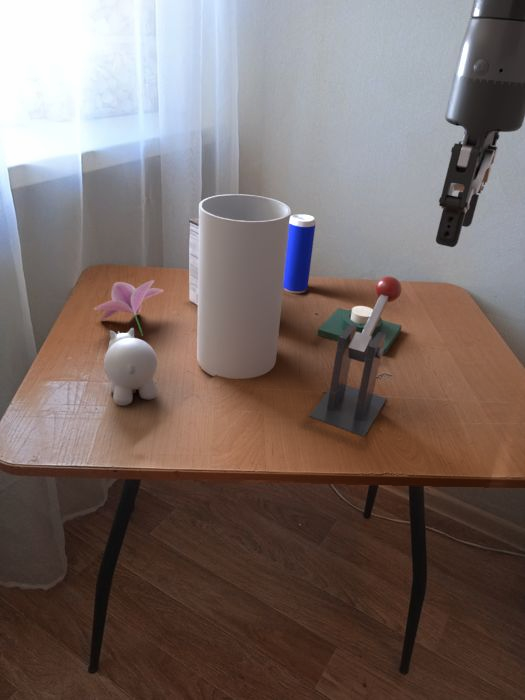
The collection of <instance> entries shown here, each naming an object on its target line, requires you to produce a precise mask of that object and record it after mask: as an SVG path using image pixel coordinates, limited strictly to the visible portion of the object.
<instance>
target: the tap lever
mask: <svg viewBox="0 0 525 700" xmlns="http://www.w3.org/2000/svg"><path fill="white" fill-rule="evenodd" d="M374 290H375V295H376V297H377V298H378V299H377V301H376V303H375V305H374V307H373V308H372V309H373V311H372V313H371V315H370V317H369V319H368V321H367V323H366V325H365V327H364V329H363V331H362V333H359V332H356V333H355V335H354V337H353V339H352V341H351V343H350V345H349V358H351V360H354V361H357V362H359V363H364V364H365V359H366V354H367V349H368V345H369V344H370V343H371V341H372V336H371V335H372V333H373V331H374V329H375V327H376V325H377V323H378V320H379V318H380V317H381V316H382V314H383V312H384V311H385V308H386V306H387V304H388V303H392V302H395V301H397V299H399V297H400V296H401V293H402V284H401V282H400V281H399V280H398V279H397V278H396V277H394V276H389V275H388V276H384V277H381V278H380V279H379V280H378V281H377V283H376V285H375V289H374Z"/></svg>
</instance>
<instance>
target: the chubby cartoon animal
mask: <svg viewBox="0 0 525 700" xmlns="http://www.w3.org/2000/svg"><path fill="white" fill-rule="evenodd" d="M109 337H110V340H109V343H108V349H107V351H106V353H105V355H104V360H103V368H104V373H105V375H106V377H107V378H108V380H109V390H110V392H111V393H113V397H112V398H113V399H112V400H113V402H114V403H115V404H117V405H118V406H127V405H129V404H131V403H132V402H133V397H134V393H137V390H138V394H139V397H140V398H141V399H143V400H152V399H154V398H156V397H157V395H158V393H159V392H158V385H157V383H156V381H155V379H154V377H155V375H156V373H157V370H158V358H157V354H156V352H155V350H154V349H153V347H152V346H151V345H150V344H149V343H147V342H146V341H145V340H142V339H140V338H137V337H135V328H134V327H131V328H130V329H129V330H128V331H127V332H120V331H119V330H118V331H117V333H116V332H115V331H114V330H110V331H109Z"/></svg>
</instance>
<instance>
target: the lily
mask: <svg viewBox="0 0 525 700" xmlns="http://www.w3.org/2000/svg"><path fill="white" fill-rule="evenodd" d="M154 283H155V279H152V280H149V281H147V282H145V283H143V284H140V285H139V286H138V287H137V288H136V287H135V286H133V284H130V283H128V282H124V281H116V282H114V283H113V285H112V287H111V300H108V301H105V302H103V303H101V304H98V305H97V306H96V307H94V308H92V310H93V311H103V313H102V315H101V317H100V321H101V322H104V321H105V320H107V319H108V318H107V317H109V318H110V317H112V316H114V315H116V314H118V313H120V312H123V313H129V314H133V316H134V319H135V322H136V324H137V327H138V329H139V333H140V335H141V337H143V336H144V333H143V330H142V328H141V325H140V323H139V319H138V317H137V316H138V315H139V314H140V313H141V309H142V302H144V301H145V300H147V299H149V298H152V297H153V296H156V295H159V294H161V293H163V292H164V291H165V289H163V288H157V287H152V285H153V284H154ZM138 312H140V313H138ZM103 318H106V319H103ZM101 319H103V320H101ZM141 333H143V334H141Z"/></svg>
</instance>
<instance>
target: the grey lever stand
mask: <svg viewBox="0 0 525 700" xmlns="http://www.w3.org/2000/svg"><path fill="white" fill-rule="evenodd" d="M356 328H357V326H356V325H353V324H349V326H348V327H347V328H346V329H345V330H344V331H343V332H342V334H341V335H340V336H339V338H338V341H336V342H337V343H336V351H335V357H334V362H333V369H332V377H331V382H330V386H329V387H330V388H329V389H328V390H327V392H326V393H325V394H324V395H323V397H322V398H321V399H320V400H319V401H318V404H316V406H315V407H314V409H312V411H311V412H310V414H309V415H308V417H309V418H311V419H314V420H317V421H319V422H321V423H324V424H327V425H330V426H333V427H335V428H339V429H341V430H343V431H346V432H349V433H351V434H354V435H357V436H359V437H362V438H365V437H366V435H367V434H368V431H369V430H370V429H371V427H372V425H373V423H374V422H375V420H376V418H377V416H378V415H379V413H380V411H382V408H383V406H384V405H385V403H386V401H387V398H386V397H383V396H381V395H377V394H374V391H375V387H376V382H377V377H378V373H379V367H380V362H381V359H382V357H383V351H384V349H383V344H384V340H385V335H386V334H384V333H380V332H378V333H377V335H376V336H375V337H374V339H373V340H372V341H371V343H370V344H369V345H368V349H367V354H366V359H365V362H364V365H363V369H362V373H361V380H360V385H359V388H356V387H353V386H350V385H347V383H348V379H349V372H350V367H351V361H352V359H351V358H349V345H350V343H351V341H352V339H353V337H354V335H355V333H356Z"/></svg>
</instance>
